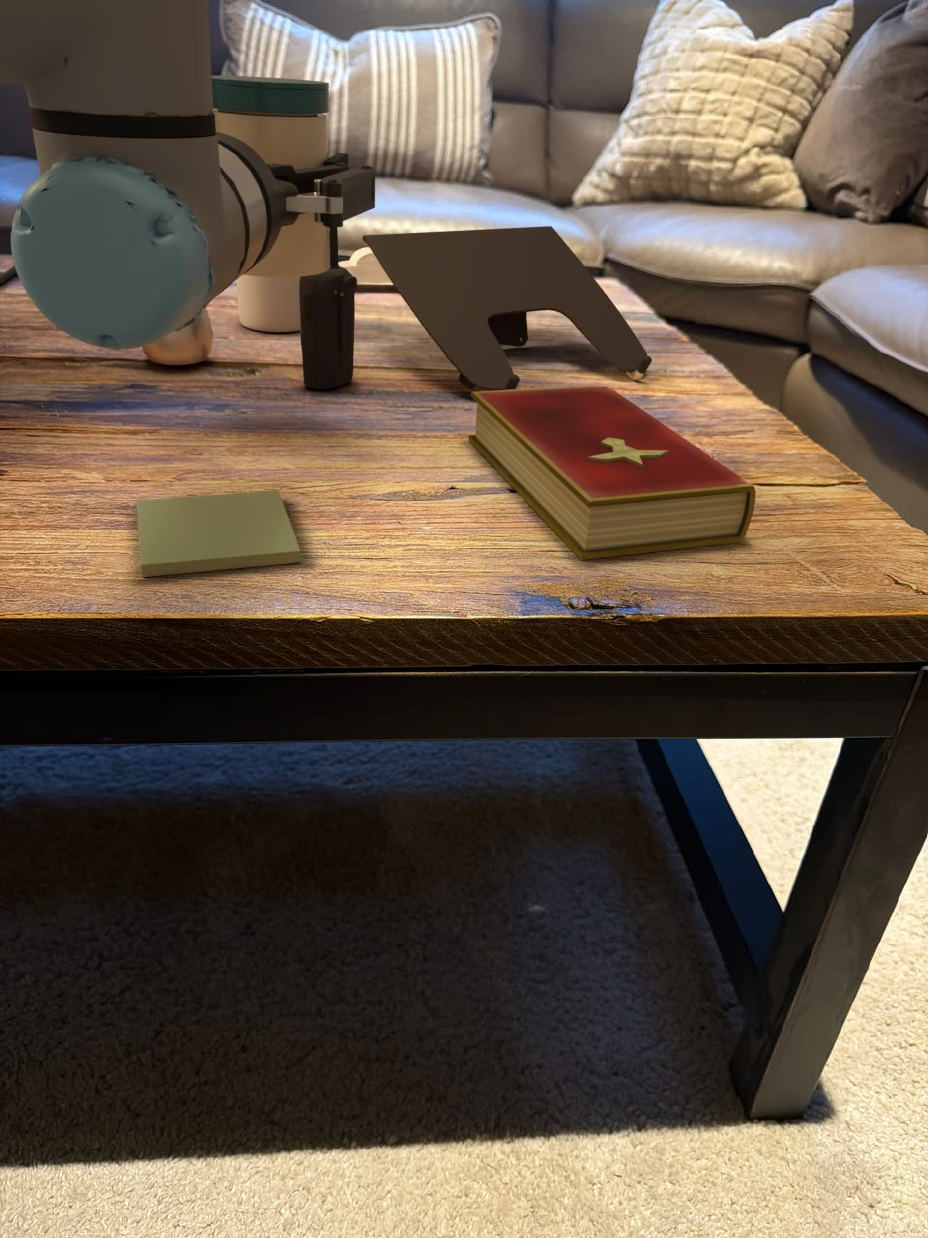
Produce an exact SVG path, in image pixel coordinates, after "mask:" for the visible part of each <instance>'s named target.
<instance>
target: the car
mask: <svg viewBox="0 0 928 1238" xmlns="http://www.w3.org/2000/svg"><path fill="white" fill-rule="evenodd" d="M338 264H339V266H340V267H344V268H345V269H347V270H348V271H349V273H350V274H352V276H354V277H356V279H357V285H367V286H368V285H371V286H394V285H393V283H392V282H391V280H390V279H389V277H388V276H387V274H386V273H385V271H384V269H383V268H382V266H381V265H380V263H379V262H378V260H377V258H376V257H375V255H374V254H373V252H372V250H371V249H370V247H369V246H368V247H361V248H359V249H357V250H355V251H354V252H353V253H352V254H351V256H350V257H349V260H342V261H338Z"/></svg>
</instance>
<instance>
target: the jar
mask: <svg viewBox="0 0 928 1238" xmlns="http://www.w3.org/2000/svg"><path fill="white" fill-rule="evenodd" d="M213 112H214V113H215V126H216V132H219V133H223V134H227V135H230V136H232V137H235V138H237V139H239V140H240V141H242V142H244V143H245V144H247V145H248V146H249V147H251V148H252V149H253V150H254V151H255V152H256V153H257V154H258V155H259V156H260V157H261V158H262V159H263V160H264V162H265V163H266V164H272V163H276V164H284V165H291V166H293V168H294V170H296V169H304V168H313V167H321V166H323V161H325V160H326V159H328V158H329V134H328V133H329V132H328V131H329V130H328V128H329V127H328V126H329V125H328V115H327V114H326V113H323V114H282V113H260V112H245V111H232V110H223V109H215V108H213ZM329 268H330V235H329V228H327V227H325V226H323V223H315V215H314V213H305V214H300V215H299V216H298V218H297V220H296V221H295V223H294V224H292V225H287V226H282V227H281V230H280V233H279V235H278V238H277V240H276V242H275V244H274V245H273V247H272V249H271V250H270V252H269V253H268V254H267V255H266V256H265V257H264V258H263V259H262V260H261V261H260V262H259V263H258V264H256V265H255V266H254V267H253V268H252V269H250V270H249V271H248V272H247V273H245V274H244V275H251V276H261V277H299V276H309V275H315V274H320V273H323V272H325V271H327V270H329Z"/></svg>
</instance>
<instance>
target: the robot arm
mask: <svg viewBox="0 0 928 1238" xmlns="http://www.w3.org/2000/svg"><path fill="white" fill-rule="evenodd" d="M210 30H211V29H210V9H209V0H0V84H18V85H19V84H20V85H21V84H23V87H24V90H25V93H26V97H27V100H28V112H29V118H30V124H31V128H32V133H33V140H34V141H33V142H34V146H35V147H34V148H35V151H36V158H37V163H38V170H39V176H37V177H36V178H35V180H34V181H33V182H32V183H31V184H29V186H28V187H27V188H26V190H25V191H24V193H23V194H22V195H21V197H20V199H19V202H18V205H17V208H16V210H15V213H14V217H13V219H12V224H11V231H10V248H11V257H12V261H13V266H12V267H10V268H9V269H7V270H6V271H4V272H3V273H1V274H0V286H1V285H3V284H4V283H6V282H7V281H8V280H10V279H11V278H13V277H14V276H15V275H17V276H18V279H19V281H20V283H21V285H22V287H23V289H24V291H25V292H26V294H27V295H28V297H29V298H30V300H31V301H32V303H33V304H34V306H35V307H36V308H37V310H39V312H40V313H42V315H44V317H45V318H46V319H47V320H48V321H49V322H50V323H51V324H53V325H54V326H55V327H56V328H58V329H59V330H61V331H62V332H64V333H65V334H67V335H69V336H71V337H72V338H74V339H76V340H78V341H80V342H83V343H84V344H88V345H90V346H93V347H96V348H97V347H98V348H103V349H108V350H112V351H122V350H134V349H139V348H142V347H144V346H146V345H149V344H152V343H154V342H156V341H158V340H160V339H161V338H163V337H165V336H167V335H168V334H170V333H172V332H173V331H177V332H179V331H180V330H182V329H183V328H185V327H186V326H188V325H190V324H192V323H193V322H194V321H195V320H196V319H197V318H198V317H199V316H200V315H201V314H202V310H203V309H204V308H206V309H207V306H208V305H209V304H210V303H211V302H212V301H213V300H214V299H215V298H216V297H218V296H220V295H221V294H222V293H223V292H224V291H225V290H227V289H228V288H229V287H230V286H232V284H233V283H234V282H235V281H237V279H238V278H239V277H240V276H242V275H244V274H245V273H247V272H248V271H249V270H250V269H252V268H253V267H254V266H255V265H256V264H258V263H259V262H260V261H261V260H262V259H263V258H264V257H265V256H266V255H267V254H268V253H269V252H270V250H271V249H272V247H273V245H274V244H275V242H276V240H277V238H278V235H279V233H280V230H281V227H282V226H287V225H292V224H294V223H295V221H296V220H297V218H298V216H299V215H300V214H305V213H314V215H315V223H323V226H325V227H327V228H329V229H337V230H338V228H343V227H344V222H345V221H347V220H350V219H351V218H354V217H357V216H359V215H361V214H363V213H366V212H369V211H370V210H373V209H375V208H376V168H375V167H374V166H371V165H366V164H365V165H362V166H358V167H351V166H350V165H349V153H348V152H337V153H334V154H333V155H332V156H330V157H328V159H326V160H325V161H323V166H321V167H313V168H304V169H296V170H294V168H293V166H291V165H284V164H276V163H272V164H266V163H265V162H264V160H263V159H262V158H261V157H260V156H259V155H258V154H257V153H256V152H255V151H254V150H253V149H252V148H251V147H249V146H248V145H247V144H245V143H244V142H242V141H240V140H239V139H237V138H235V137H232V136H230V135H227V134H223V133H219V132H216V126H215V113H214V112H213V95H212V76H213V75H212V55H211V54H212V53H211V32H210Z"/></svg>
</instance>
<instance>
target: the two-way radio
mask: <svg viewBox="0 0 928 1238" xmlns="http://www.w3.org/2000/svg"><path fill="white" fill-rule="evenodd" d="M338 231H339V230H338V228H337V229H329V235H330V268H329V270H327V271H325V272H323V273H320V274H315V275H309V276H300V280H299V300H300V324H301V330H300V347H301V359H302V376H303V379H302V380H303V384H304V385H305V386H306V387H308V388H311V389H314V390H315V389H316V390H319V391H326V389H332V388H336V387H340V386H342V385H345V384H347V383H349V382H352V381H353V377H354V355H355V317H356V315H355V312H356V307H355V306H356V304H355V297H356V296H355V293H356V291H357V289H358V284H357V279H356V277H354V276H352V274H350V273H349V271H348V270H347V269H345V268H344V267H340V266H339V264H338V262H339V232H338Z"/></svg>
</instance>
